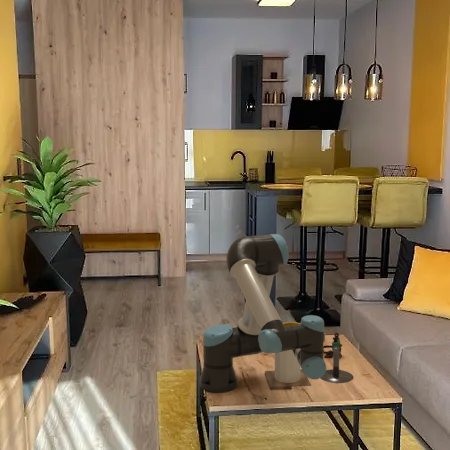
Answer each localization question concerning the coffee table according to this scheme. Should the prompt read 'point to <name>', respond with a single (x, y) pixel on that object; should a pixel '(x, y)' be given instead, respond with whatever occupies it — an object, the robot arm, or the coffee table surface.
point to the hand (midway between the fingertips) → (293, 331)
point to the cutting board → (280, 385)
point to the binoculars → (334, 344)
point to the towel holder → (336, 371)
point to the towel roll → (287, 367)
